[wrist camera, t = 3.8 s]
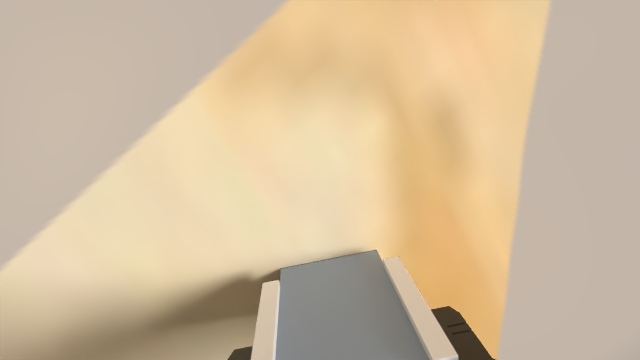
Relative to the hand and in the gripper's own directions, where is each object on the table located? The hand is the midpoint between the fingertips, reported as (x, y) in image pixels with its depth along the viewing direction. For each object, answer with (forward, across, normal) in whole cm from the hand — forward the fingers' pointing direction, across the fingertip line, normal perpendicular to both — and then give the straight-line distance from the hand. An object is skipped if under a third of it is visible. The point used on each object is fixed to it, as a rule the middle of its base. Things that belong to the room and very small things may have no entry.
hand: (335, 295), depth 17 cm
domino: (+2, 0, 0) cm, 2 cm away
